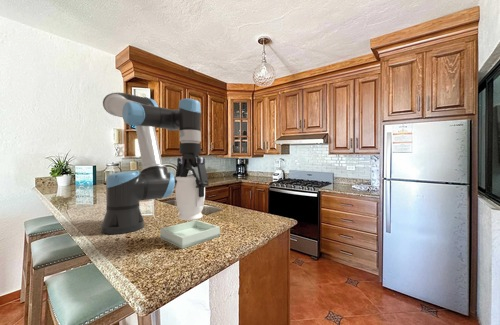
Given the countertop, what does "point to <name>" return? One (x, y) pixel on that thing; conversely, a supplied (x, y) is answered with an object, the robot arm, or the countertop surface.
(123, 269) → the countertop surface
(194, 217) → the jar
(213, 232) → the tray
